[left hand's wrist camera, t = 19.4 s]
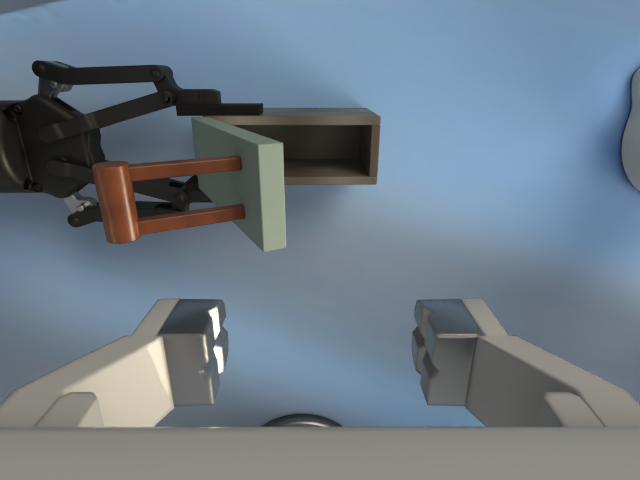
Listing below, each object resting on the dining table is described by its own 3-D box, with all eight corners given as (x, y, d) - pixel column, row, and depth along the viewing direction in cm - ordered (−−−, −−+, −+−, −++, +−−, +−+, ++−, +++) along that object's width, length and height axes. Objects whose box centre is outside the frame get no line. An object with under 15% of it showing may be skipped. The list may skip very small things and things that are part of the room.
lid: (283, 142, 20) (87, 157, 16) (286, 248, 22) (113, 282, 18) (208, 116, 32) (86, 121, 28) (214, 186, 34) (102, 199, 30)
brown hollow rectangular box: (367, 107, 40) (380, 116, 32) (364, 163, 42) (377, 184, 34) (224, 108, 40) (202, 116, 32) (228, 164, 42) (208, 185, 34)
